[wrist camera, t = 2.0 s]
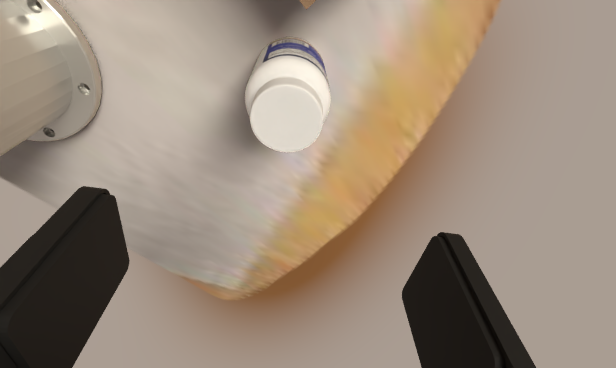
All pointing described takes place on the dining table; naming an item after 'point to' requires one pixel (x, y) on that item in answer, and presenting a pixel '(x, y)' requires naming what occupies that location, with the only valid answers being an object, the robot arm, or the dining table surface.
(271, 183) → the dining table surface
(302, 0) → the well
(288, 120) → the pill bottle
